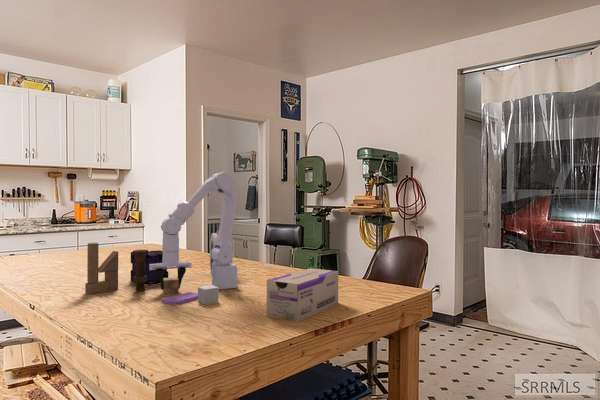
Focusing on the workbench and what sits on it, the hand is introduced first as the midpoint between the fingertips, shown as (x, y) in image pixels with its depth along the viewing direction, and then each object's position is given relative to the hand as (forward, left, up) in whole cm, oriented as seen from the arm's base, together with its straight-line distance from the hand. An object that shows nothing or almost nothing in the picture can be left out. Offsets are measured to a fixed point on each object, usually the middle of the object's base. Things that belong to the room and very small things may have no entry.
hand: (170, 288), depth 151 cm
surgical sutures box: (-36, +39, -2) cm, 53 cm away
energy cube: (+6, -24, -2) cm, 25 cm away
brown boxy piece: (0, 0, -1) cm, 1 cm away
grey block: (-10, +19, -2) cm, 22 cm away
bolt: (+10, -7, -2) cm, 12 cm away
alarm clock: (-24, -27, -2) cm, 36 cm away
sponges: (-3, +13, -2) cm, 13 cm away
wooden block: (+23, -12, -2) cm, 26 cm away
